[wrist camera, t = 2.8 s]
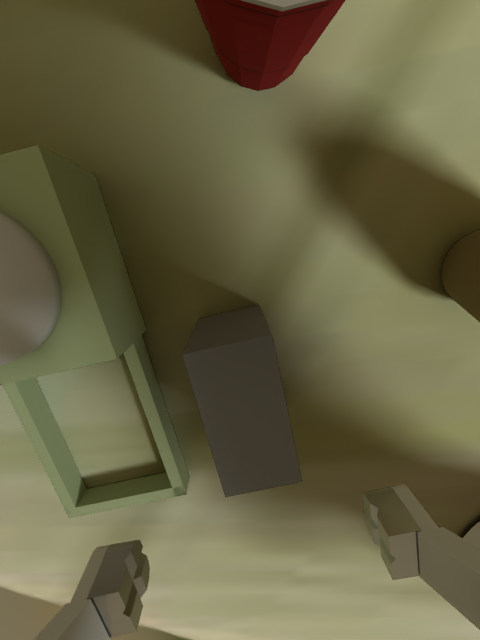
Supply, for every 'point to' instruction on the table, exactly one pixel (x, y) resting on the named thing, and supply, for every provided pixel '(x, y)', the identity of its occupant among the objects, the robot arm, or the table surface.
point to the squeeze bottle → (464, 273)
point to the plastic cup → (264, 35)
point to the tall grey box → (242, 401)
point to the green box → (71, 319)
